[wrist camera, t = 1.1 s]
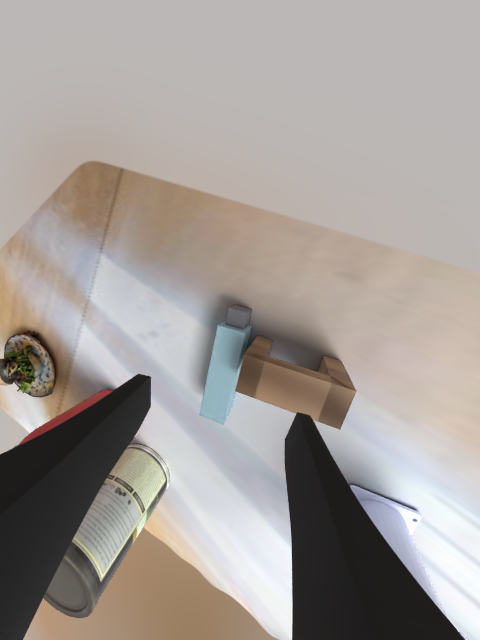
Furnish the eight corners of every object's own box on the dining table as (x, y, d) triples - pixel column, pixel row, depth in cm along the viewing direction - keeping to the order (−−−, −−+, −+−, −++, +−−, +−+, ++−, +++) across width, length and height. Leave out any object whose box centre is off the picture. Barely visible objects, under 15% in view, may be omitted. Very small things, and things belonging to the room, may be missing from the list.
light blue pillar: (231, 407, 29) (223, 424, 26) (210, 399, 30) (199, 414, 26) (256, 310, 26) (249, 315, 22) (231, 303, 26) (221, 307, 23)
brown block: (329, 391, 25) (340, 429, 19) (249, 364, 27) (235, 390, 21) (341, 361, 24) (356, 391, 18) (257, 335, 26) (244, 354, 20)
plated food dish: (61, 403, 39) (9, 431, 32) (15, 376, 41) (-44, 397, 34) (67, 346, 36) (10, 363, 29) (16, 320, 38) (-49, 330, 31)
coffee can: (173, 500, 36) (100, 633, 23) (124, 487, 39) (32, 599, 25) (166, 448, 34) (81, 560, 21) (115, 438, 37) (10, 531, 23)
